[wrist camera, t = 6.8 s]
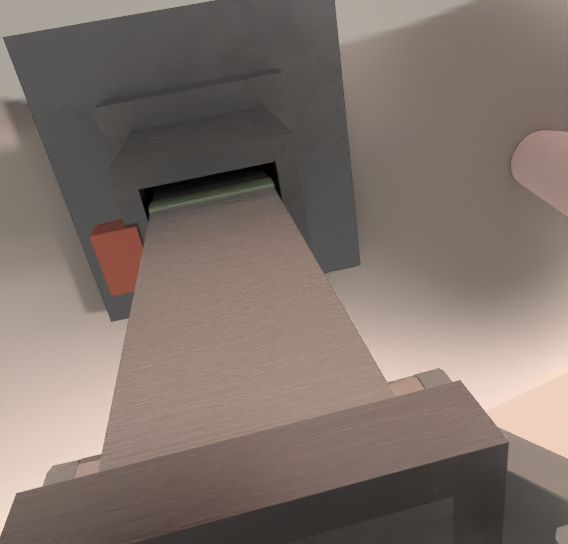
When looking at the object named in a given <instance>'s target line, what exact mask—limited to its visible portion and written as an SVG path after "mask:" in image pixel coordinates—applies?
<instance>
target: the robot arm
mask: <svg viewBox="0 0 568 544" xmlns="http://www.w3.org/2000/svg"><path fill="white" fill-rule="evenodd" d="M451 382H452V381H451V380H450V378H449V377H448V376H447V374H446V373H445V372H444V371H443V370H441V369H439V368H438V369H435V370H431V371H427V372H423V373H420V374H416V375H413V376H410V377H406V378H402V379H398V380H395V381H391V382H387V383H388V385H389V387H390V388H391V390H392V392H393V393H394V395H395V397H396V396H400V395H404V394H408V393H412V392H416V391H420V390H424V389H428V388H432V387H436V386H440V385H444V384H447V383H451ZM498 428H499V427H498ZM499 430H500V431H501V432H502V433H503V435H504V436H505V437H506V439H507V440H508V441H509V450H508V464H507V477H506V491H505V505H504V519H503V533H502V544H568V459H567V458H565V457H563V456H560V455H558V454H556V453H554V452H552V451H549V450H547V449H545V448H543V447H541V446H538V445H536V444H534V443H532V442H529V441H527V440H525V439H523V438H520V437H518V436H516V435H514V434H512V433H510V432H507V431H505V430H503V429H501V428H499ZM101 455H102V454H100V455H96V456H91V457H87V458H82V460H77V461H72V462H68V463H63V464H59V465H54V466H53V467H52V468H51V469H50V470H49V471H48V473H47V474H46V477H45V480H44V484H43V486H47V485H51V484H55V483H59V482H63V481H67V480H71V479H75V478H79V477H83V476H86V475H90V474H94V473H98V470H99V465H100V460H101Z"/></svg>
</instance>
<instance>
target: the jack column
mask: <svg viewBox="0 0 568 544" xmlns="http://www.w3.org/2000/svg"><path fill="white" fill-rule="evenodd" d="M149 212H150V217H149V221H148V226H147V231H146V236H145V241H144V246H143V251H142V256H141V261H140V266H139V271H138V276H137V281H136V286H135V291H134V296H133V301H132V306H131V311H130V316H129V321H128V326H127V331H126V336H125V341H124V346H123V351H122V356H121V361H120V366H119V371H118V376H117V381H116V386H115V391H114V396H113V401H112V406H111V411H110V416H109V421H108V426H107V431H106V436H105V441H104V446H103V451H102V455H101V460H100V465H99V470H98V473H94V474H90V475H86V476H83V477H79V478H75V479H71V480H67V481H63V482H59V483H55V484H51V485H47V486H43V487H39V488H35V489H32V490H28V491H24V492H20V493H16V496H15V499H14V501H13V504H12V507H11V509H10V512H9V515H8V517H7V520H6V523H5V526H4V528H3V531H2V534H1V536H0V544H502V533H503V519H504V505H505V491H506V477H507V464H508V450H509V441H508V440H507V439H506V437H505V436H504V435H503V433H502V432H501V431H500V430H499V428H498V427H497V426H496V425H495V424H494V422H493V421H492V420H491V418H490V417H489V416H488V415H487V413H486V412H485V411H484V410H483V408H482V407H481V406H480V405H479V403H478V402H477V401H476V400H475V398H474V397H473V396H472V395H471V393H470V392H469V391H468V390H467V388H466V387H465V386H464V385H463V383H462V382H461V381H460V380H459V381H455V382H451V383H447V384H444V385H440V386H436V387H432V388H428V389H424V390H420V391H416V392H412V393H408V394H404V395H400V396H396V397H395V395H394V393H393V392H392V390H391V388H390V387H389V385H388V383H387V381H386V380H385V378H384V376H383V375H382V373H381V371H380V369H379V368H378V366H377V364H376V362H375V361H374V359H373V357H372V356H371V354H370V352H369V350H368V349H367V347H366V345H365V344H364V342H363V340H362V338H361V337H360V335H359V333H358V331H357V330H356V328H355V326H354V325H353V323H352V321H351V319H350V318H349V316H348V314H347V313H346V311H345V309H344V307H343V306H342V304H341V302H340V300H339V299H338V297H337V295H336V294H335V292H334V290H333V288H332V287H331V285H330V283H329V282H328V280H327V278H326V276H325V275H324V273H323V271H322V269H321V268H320V266H319V264H318V263H317V261H316V259H315V257H314V256H313V254H312V252H311V251H310V249H309V247H308V245H307V244H306V242H305V240H304V238H303V237H302V235H301V233H300V232H299V230H298V228H297V226H296V225H295V223H294V221H293V219H292V218H291V216H290V214H289V213H288V211H287V209H286V207H285V206H284V204H283V202H282V201H281V199H280V197H279V195H278V194H277V192H276V190H275V187H274V183H273V181H272V180H271V178H270V177H268V176H267V175H266V173H265V171H264V170H263V168H262V166H261V165H256V166H251V167H246V168H241V169H236V170H232V171H227V172H222V173H217V174H212V175H207V176H202V177H198V178H193V179H188V180H183V181H178V182H173V183H168V184H163V185H159V186H156V187H155V192H154V197H153V202H150V206H149Z"/></svg>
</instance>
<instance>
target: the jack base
mask: <svg viewBox="0 0 568 544" xmlns="http://www.w3.org/2000/svg"><path fill="white" fill-rule="evenodd" d="M3 39H4V42H5V44H6V47H7V50H8V52H9V55H10V57H11V60H12V62H13V65H14V68H15V70H16V73H17V75H18V78H19V81H20V84H21V86H22V89H23V91H24V94H25V97H26V99H27V102H28V105H29V107H30V110H31V112H32V115H33V118H34V120H35V123H36V126H37V128H38V131H39V133H40V136H41V139H42V141H43V144H44V146H45V149H46V152H47V154H48V157H49V160H50V162H51V165H52V167H53V170H54V173H55V175H56V178H57V181H58V183H59V186H60V188H61V191H62V194H63V196H64V199H65V202H66V204H67V207H68V209H69V212H70V215H71V217H72V220H73V222H74V225H75V228H76V230H77V233H78V236H79V238H80V241H81V243H82V246H83V249H84V251H85V254H86V257H87V259H88V262H89V264H90V267H91V270H92V272H93V275H94V278H95V280H96V283H97V285H98V288H99V291H100V293H101V296H102V298H103V301H104V304H105V306H106V309H107V312H108V314H109V317H110V319H111V322H113V321H117V320H122V319H126V318H129V316H130V311H131V306H132V301H133V296H134V291H135V286H136V281H137V276H138V271H139V266H140V261H141V256H142V251H143V246H144V241H145V236H146V231H147V226H148V221H149V217H150V212H149V206H150V202H153V197H154V192H155V187H156V186H159V185H163V184H168V183H173V182H178V181H183V180H188V179H193V178H198V177H202V176H207V175H212V174H217V173H222V172H227V171H232V170H236V169H241V168H246V167H251V166H256V165H261V166H262V168H263V170H264V171H265V173H266V175H267V176H268V177H270V178H271V180H272V181H273V183H274V187H275V190H276V192H277V194H278V195H279V197H280V199H281V201H282V202H283V204H284V206H285V207H286V209H287V211H288V213H289V214H290V216H291V218H292V219H293V221H294V223H295V225H296V226H297V228H298V230H299V232H300V233H301V235H302V237H303V238H304V240H305V242H306V244H307V245H308V247H309V249H310V251H311V252H312V254H313V256H314V257H315V259H316V261H317V263H318V264H319V266H320V268H321V269H322V271H323V273H328V272H332V271H336V270H341V269H345V268H350V267H354V266H358V265H360V256H359V246H358V236H357V225H356V215H355V205H354V195H353V184H352V174H351V164H350V154H349V143H348V133H347V123H346V112H345V102H344V92H343V82H342V71H341V61H340V51H339V41H338V30H337V21H336V11H335V0H215V1H210V2H204V3H198V4H192V5H187V6H181V7H175V8H169V9H164V10H158V11H152V12H146V13H140V14H135V15H129V16H124V17H118V18H111V19H106V20H100V21H94V22H89V23H83V24H77V25H71V26H65V27H60V28H54V29H48V30H42V31H37V32H31V33H25V34H19V35H13V36H8V37H3Z"/></svg>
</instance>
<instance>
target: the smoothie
mask: <svg viewBox="0 0 568 544" xmlns="http://www.w3.org/2000/svg"><path fill="white" fill-rule="evenodd" d="M511 171H512V175H513V177H514V179H515V180H516V181H517V182H518V183H520V184H521V185H522V186H524V187H525V188H527V189H528V190H530V191H531V192H532V193H534V194H535V195H537V196H538V197H540V198H541V199H542V200H544V201H545V202H547V203H548V204H549V205H551V206H552V207H554V208H555V209H557V210H558V211H559V212H561V213H562V214H564V215H565V216H566V217H568V132H565V131H551V130H540V131H536V132H533V133H531V134H530V135H528V136H527V137H525V138H524V139H523V140H522V141H521V142H520V143H519V145H518V146H517V148H516V149H515V151H514V154H513V156H512V160H511Z"/></svg>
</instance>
